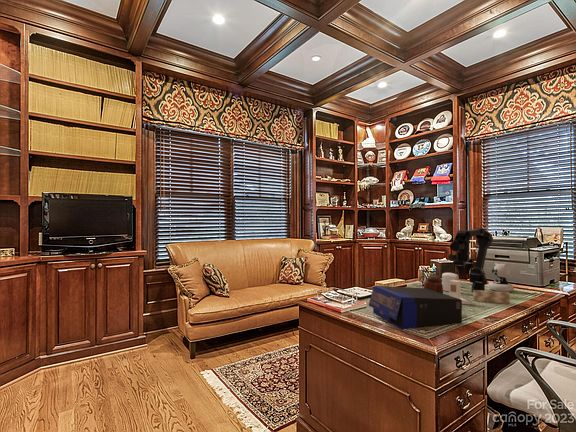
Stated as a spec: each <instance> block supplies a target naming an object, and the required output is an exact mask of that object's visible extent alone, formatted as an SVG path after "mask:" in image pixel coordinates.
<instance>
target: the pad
mask: <svg viewBox="0 0 576 432" xmlns="http://www.w3.org/2000/svg"><path fill="white" fill-rule="evenodd" d="M460 299H461V300H462V305H471V304H472V303H471V301H468V300H467V299H465V298H463V297H461V296H460Z"/></svg>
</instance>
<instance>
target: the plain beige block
mask: <svg viewBox="0 0 576 432" xmlns="http://www.w3.org/2000/svg"><path fill="white" fill-rule="evenodd" d="M448 292H449V296H452V297H455V298H458V299H460V297H461V280H459V281H457V280H451V281H450V288H449V291H448Z"/></svg>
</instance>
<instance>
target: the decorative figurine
mask: <svg viewBox="0 0 576 432" xmlns="http://www.w3.org/2000/svg"><path fill="white" fill-rule="evenodd" d="M494 265H495V266H494V267H493V268H492V269H491V273H492V274H494V275H495V278H494V280H493V281H490V282H487V287H488V289H489V290H490V291H491V290H492V291H496V292H509V293H510V292H513V291H514V288H515V286H514V285H513V284H512V283H509V282H508V280H507V277H508V276H510V274H511V268H510V266H508V262H507V261H505V263H497V262H494Z"/></svg>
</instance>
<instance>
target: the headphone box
mask: <svg viewBox="0 0 576 432" xmlns="http://www.w3.org/2000/svg"><path fill="white" fill-rule="evenodd" d="M368 306H369V307H370V308H372V309H373V310H372V312H373V313H372V314H374V315H376V316H377V317H379V318H381V319H383V320H385V321H387V322H388V323H390V324H392V325H393V326H395V327H397V328H399V329H401V330H412V329H420V328H429V327H439V326H441V327H442V326H448V325H459V324H462V322H463V321H462V319H463V304H462V300H461V299H458V298H455V297H452V296H449V295H448V294H446V293H444V292H443V293H440V292H436V291H433V290H430V289H427V288H424V287H408V286H406V287H405V286H390V285H389V286H386V285H373V288H372V292H371V295H370V299H369V302H368Z"/></svg>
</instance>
